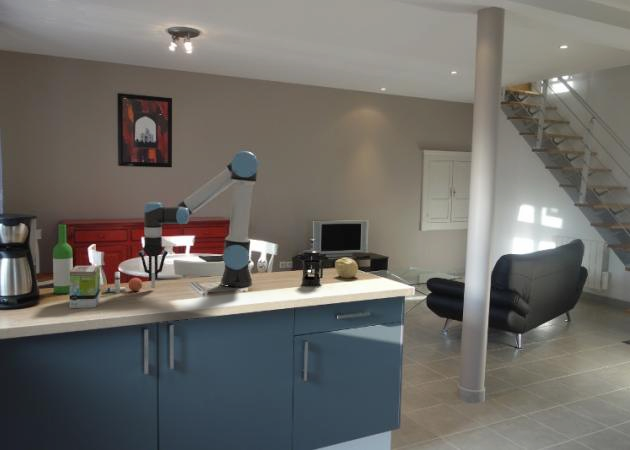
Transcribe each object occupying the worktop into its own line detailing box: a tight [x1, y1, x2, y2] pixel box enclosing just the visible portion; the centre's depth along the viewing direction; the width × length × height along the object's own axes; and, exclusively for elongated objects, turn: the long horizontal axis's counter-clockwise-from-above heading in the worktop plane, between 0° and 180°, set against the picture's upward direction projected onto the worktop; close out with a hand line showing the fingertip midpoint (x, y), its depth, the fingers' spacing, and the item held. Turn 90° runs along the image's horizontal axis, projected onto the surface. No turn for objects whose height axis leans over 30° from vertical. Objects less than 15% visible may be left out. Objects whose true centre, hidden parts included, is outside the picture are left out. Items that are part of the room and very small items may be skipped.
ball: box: [128, 277, 143, 292], centre depth 234 cm, size 6×6×6 cm
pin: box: [114, 273, 121, 295], centre depth 229 cm, size 2×2×8 cm
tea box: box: [68, 265, 101, 309], centre depth 209 cm, size 15×10×15 cm, turn 17°
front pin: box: [104, 286, 126, 293], centre depth 232 cm, size 2×2×8 cm
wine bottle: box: [52, 224, 74, 295], centre depth 227 cm, size 8×8×30 cm
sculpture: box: [334, 256, 359, 279], centre depth 281 cm, size 11×12×11 cm
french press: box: [301, 238, 324, 287], centre depth 259 cm, size 12×9×23 cm
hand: (153, 287), depth 237 cm, fingers closed
